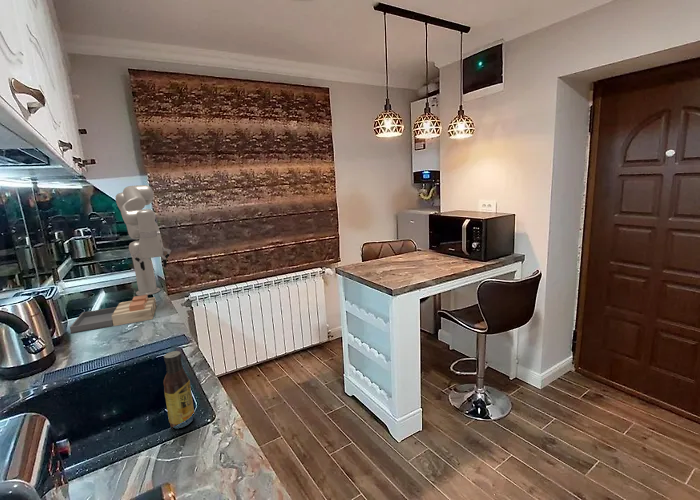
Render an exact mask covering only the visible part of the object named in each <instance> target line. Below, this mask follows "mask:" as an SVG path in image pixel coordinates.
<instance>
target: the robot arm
mask: <svg viewBox="0 0 700 500" xmlns="http://www.w3.org/2000/svg"><path fill="white" fill-rule="evenodd" d="M154 195H155V194H154V191H153V188H152V187H151V186H150V185H148V184H147V185H146V184H142V185H141V184H140V185H129V186H126V187H125V188H123V190H122V192H120V193H119V192H118V193H117V194H116V195H115V202H116V205H117V207H118V209H119V211H120V214H121V217H122V219H123V221H124V224H125V225H126V230H127V234H128V236H129V238H131V239H133V240H134V241H132V242H130V243H129V245H128V250H129V253H130V255H131V259H132V263H133V268H134V273H135V277H136V278H135V279H136V283H137V288H138V290H137V291H135V295H136V296H142V295H147V296H149V295H150V296H151V295H154V294H157V293H159V292H160V291H161V288H160V287H157V282H156V277H155V271H154V264H153V261H152V260H151V259H153V258H162V263H163V268H167V266H168V261H167V259H168V257H170V254H171V252H172V250H171V249H170V248H166V247H164V243H163V240H162V234H161V231H160V227H159V225H158V223H157V222H156V213H155V211H153V209H150V208H145V207H146V206H149V205H151V203H152V201H153V200H154ZM144 208H145V209H144ZM164 252H167V253H166V255H165V254H164Z"/></svg>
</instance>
